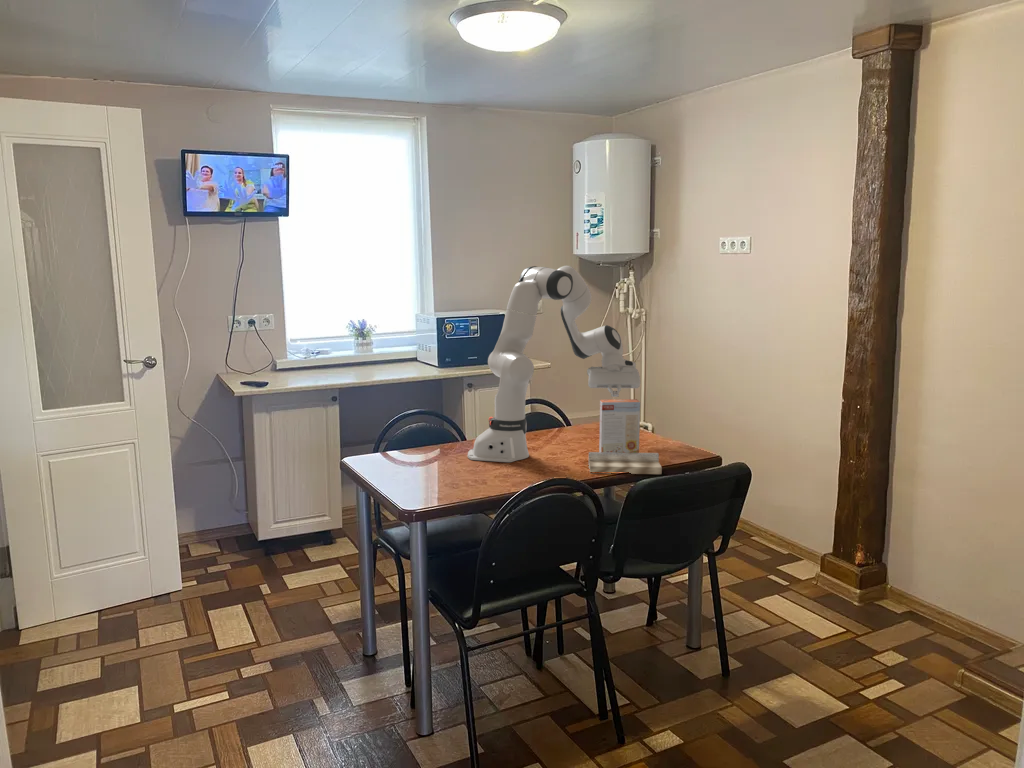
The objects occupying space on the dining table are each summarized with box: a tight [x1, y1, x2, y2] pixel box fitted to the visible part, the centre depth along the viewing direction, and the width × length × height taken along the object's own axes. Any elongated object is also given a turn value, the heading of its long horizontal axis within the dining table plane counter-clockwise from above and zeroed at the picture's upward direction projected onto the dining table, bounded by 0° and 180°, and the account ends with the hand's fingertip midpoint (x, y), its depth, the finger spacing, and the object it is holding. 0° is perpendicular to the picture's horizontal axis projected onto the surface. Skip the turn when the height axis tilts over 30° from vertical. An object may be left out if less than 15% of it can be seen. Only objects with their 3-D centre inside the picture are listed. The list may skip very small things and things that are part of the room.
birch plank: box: [588, 460, 663, 475], centre depth 265 cm, size 24×7×2 cm, turn 88°
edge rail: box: [588, 451, 660, 463], centre depth 270 cm, size 24×2×5 cm, turn 88°
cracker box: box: [598, 398, 641, 453], centre depth 283 cm, size 14×6×21 cm, turn 92°
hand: (615, 395), depth 300 cm, fingers closed
